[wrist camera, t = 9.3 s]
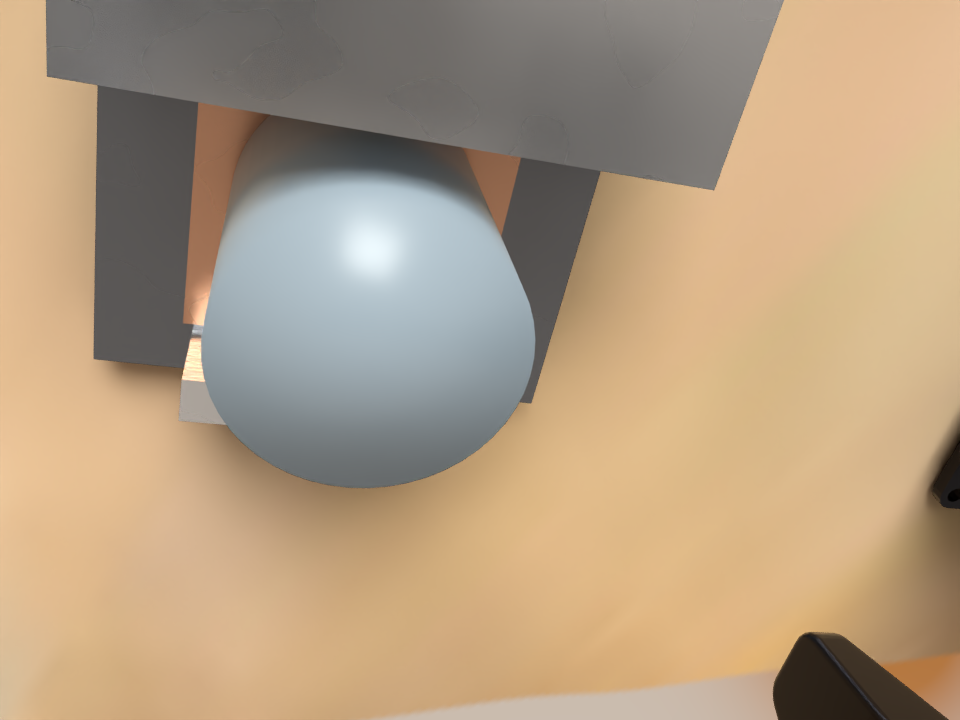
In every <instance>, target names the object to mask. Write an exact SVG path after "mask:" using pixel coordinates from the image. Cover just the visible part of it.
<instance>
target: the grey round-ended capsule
mask: <svg viewBox="0 0 960 720" xmlns="http://www.w3.org/2000/svg"><path fill="white" fill-rule="evenodd" d="M534 353H535V329H534V320H533V316H532V312H531V308H530V304H529V301H528V299H527V296H526V294H525V291H524V289H523V286H522V284H521V282H520V279H519V277H518V275H517V272H516V270H515V268H514V265H513V263H512V261H511V258H510V256H509V254H508V251H507V249H506V247H505V244H504V242H503V240H502V238H501V235H500V233H499V231H498V228H497V226H496V224H495V221H494V219H493V217H492V214H491V212H490V210H489V207H488V205H487V203H486V200H485V198H484V196H483V193H482V191H481V189H480V186H479V184H478V182H477V179H476V177H475V175H474V172H473V170H472V168H471V165H470V163H469V161H468V158H467V156H466V154H465V152H464V150H463V148H462V147H457V146H451V145H446V144H440V143H434V142H428V141H422V140H416V139H410V138H405V137H399V136H393V135H387V134H381V133H375V132H369V131H364V130H358V129H352V128H346V127H340V126H334V125H328V124H323V123H317V122H311V121H305V120H299V119H293V118H287V117H282V116H276V115H270V116H269V117H267V118H266V119H265V120H264V121H263V123H262V124H261V125H260V126H259V127H258V128H257V129H256V130H255V131H254V133H253V134H252V136H251V137H250V139H249V140H248V142H247V143H246V145H245V147H244V149H243V151H242V153H241V155H240V157H239V159H238V162H237V166H236V169H235V172H234V176H233V181H232V186H231V191H230V196H229V200H228V205H227V210H226V215H225V220H224V225H223V230H222V235H221V240H220V245H219V250H218V255H217V260H216V265H215V270H214V275H213V279H212V284H211V289H210V294H209V299H208V304H207V309H206V314H205V319H204V325H203V331H202V337H201V363H202V369H203V375H204V380H205V383H206V386H207V389H208V392H209V395H210V398H211V400H212V402H213V404H214V406H215V408H216V410H217V412H218V414H219V415H220V416H221V418H222V419H223V421H224V422H225V424H226V425H227V426H228V428H229V429H230V430H231V431H232V432H233V434H234V435H235V436H236V437H237V438H238V439H239V440H240V441H241V442H242V443H243V444H244V445H245V446H247V447H248V448H249V449H250V450H251V451H253V452H254V453H255V454H256V455H258V456H259V457H261V458H262V459H264V460H265V461H267V462H268V463H270V464H272V465H273V466H275V467H277V468H279V469H281V470H283V471H286V472H288V473H290V474H292V475H295V476H298V477H301V478H303V479H306V480H309V481H313V482H317V483H322V484H326V485H332V486H340V487H347V488H375V487H388V486H394V485H399V484H405V483H409V482H413V481H416V480H420V479H423V478H426V477H429V476H431V475H434V474H436V473H439V472H441V471H444V470H446V469H448V468H450V467H452V466H453V465H455V464H457V463H459V462H461V461H463V460H464V459H466V458H467V457H468V456H470V455H471V454H473V453H474V452H476V451H477V450H479V449H480V448H481V447H482V446H483V445H484V444H485V443H487V442H488V441H489V440H490V439H491V438H492V437H493V436H494V435H495V434H496V433H497V432H498V431H499V430H500V429H501V428H502V426H503V425H504V424H505V423H506V422H507V420H508V419H509V417H510V416H511V415H512V413H513V412H514V410H515V409H516V407H517V405H518V403H519V401H520V399H521V398H522V396H523V394H524V392H525V389H526V386H527V383H528V381H529V378H530V375H531V370H532V366H533V361H534Z"/></svg>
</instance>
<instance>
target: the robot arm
mask: <svg viewBox="0 0 960 720" xmlns="http://www.w3.org/2000/svg"><path fill="white" fill-rule="evenodd" d="M932 493H933V496H934V497H935V498H936V499H937V500H938V501H939V502H940V504H941V505H942V506H943V507H947V508H955V509H960V442H959V444H958V446H957V447H956V449H955V451H954V453H953V454H952V456H951V458H950V459H949V461H948V463H947V464H946V466H945V468H944V469H943V471H942V473H941V475H940V476H939V478H938V480H937V481H936V483H935V485H934V487H933V490H932ZM773 701H774V706H775V710H776V713H777V717H778V720H948V719H947V718H945V716H943V715H942V714H941V713H940V712H938V711H937V710H936V709H934V708H933V707H932V706H930V705H929V704H928V703H927V702H926V701H924V700H923V699H922V698H921V697H919V696H918V695H917V694H916V693H914V692H913V691H912V690H910V689H909V688H908V687H907V686H905V685H904V684H903V683H902V682H900V681H899V680H898V679H897V678H895V677H894V676H893V675H892V674H890V673H889V672H888V671H886V670H885V669H884V668H883V667H881V666H880V665H879V664H878V663H876V662H875V661H874V660H873V659H871V658H870V657H869V656H868V655H866V654H865V653H864V652H863V651H861V650H860V649H859V648H858V647H856V646H855V645H854V644H852V643H851V642H850V641H849V640H847V639H846V638H845V637H843V636H841V635H839V634H835V633H819V632H808V633H804V634H803V635H801V636H800V637H799V638H798V640H797V641H796V643H795V644H794V646H793V648H792V650H791V652H790V654H789V655H788V657H787V659H786V661H785V663H784V664H783V666H782V668H781V670H780V672H779V673H778V675H777V677H776V679H775V682H774V687H773Z"/></svg>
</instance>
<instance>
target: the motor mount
mask: <svg viewBox="0 0 960 720" xmlns="http://www.w3.org/2000/svg"><path fill="white" fill-rule="evenodd" d="M783 1H784V0H46V43H47V77H53V78H59V79H65V80H71V81H77V82H82V83H88V84H94V85H98V101H97V167H96V233H95V300H94V359H98V360H108V361H117V362H127V363H137V364H147V365H157V366H167V367H177V368H184V371H183V376H182V382H181V396H180V410H179V421H188V422H199V423H210V424H222V425H226V424H225V422H224V421H223V419H222V418H221V416H220V415H219V414H218V412H217V410H216V408H215V406H214V404H213V402H212V400H211V398H210V395H209V392H208V389H207V386H206V383H205V380H204V375H203V369H202V363H201V337H202V331H203V325H204V319H205V314H206V309H207V304H208V299H209V294H210V289H211V284H212V279H213V275H214V270H215V265H216V260H217V255H218V250H219V245H220V240H221V235H222V230H223V225H224V220H225V215H226V210H227V205H228V200H229V196H230V191H231V186H232V181H233V176H234V172H235V169H236V166H237V162H238V159H239V157H240V155H241V153H242V151H243V149H244V147H245V145H246V143H247V142H248V140H249V139H250V137H251V136H252V134H253V133H254V131H255V130H256V129H257V128H258V127H259V126H260V125H261V124H262V123H263V121H264V120H265V119H266V118H267V117H269V116H270V115H276V116H282V117H287V118H293V119H299V120H305V121H311V122H317V123H323V124H328V125H334V126H340V127H346V128H352V129H358V130H364V131H369V132H375V133H381V134H387V135H393V136H399V137H405V138H410V139H416V140H422V141H428V142H434V143H440V144H446V145H451V146H457V147H462V148H463V150H464V152H465V154H466V156H467V158H468V161H469V163H470V165H471V168H472V170H473V172H474V175H475V177H476V179H477V182H478V184H479V186H480V189H481V191H482V193H483V196H484V198H485V200H486V203H487V205H488V207H489V210H490V212H491V214H492V217H493V219H494V221H495V224H496V226H497V228H498V231H499V233H500V235H501V238H502V240H503V242H504V244H505V247H506V249H507V251H508V254H509V256H510V258H511V261H512V263H513V265H514V268H515V270H516V272H517V275H518V277H519V279H520V282H521V284H522V286H523V289H524V291H525V294H526V296H527V299H528V301H529V304H530V308H531V312H532V316H533V320H534V329H535V353H534V361H533V366H532V370H531V375H530V378H529V381H528V383H527V386H526V389H525V392H524V394H523V396H522V398H521V399H520V401H519V402H523V403H531V402H532V399H533V396H534V392H535V389H536V386H537V382H538V379H539V376H540V372H541V369H542V366H543V362H544V359H545V356H546V352H547V349H548V346H549V342H550V339H551V335H552V332H553V329H554V325H555V322H556V319H557V315H558V312H559V309H560V305H561V302H562V299H563V295H564V292H565V289H566V285H567V282H568V279H569V275H570V272H571V269H572V265H573V262H574V259H575V255H576V252H577V248H578V245H579V242H580V238H581V235H582V232H583V228H584V225H585V222H586V218H587V215H588V212H589V208H590V205H591V202H592V198H593V195H594V192H595V188H596V185H597V182H598V178H599V175H600V172H601V171H604V172H610V173H615V174H621V175H627V176H633V177H639V178H645V179H651V180H656V181H662V182H668V183H674V184H680V185H686V186H692V187H697V188H703V189H709V190H714V189H715V187H716V184H717V181H718V178H719V176H720V173H721V170H722V167H723V165H724V162H725V159H726V157H727V154H728V151H729V148H730V146H731V143H732V140H733V137H734V135H735V132H736V129H737V127H738V124H739V121H740V118H741V116H742V113H743V110H744V107H745V105H746V102H747V99H748V97H749V94H750V91H751V88H752V86H753V83H754V80H755V77H756V75H757V72H758V69H759V67H760V64H761V61H762V58H763V56H764V53H765V50H766V47H767V45H768V42H769V39H770V37H771V34H772V31H773V28H774V26H775V23H776V20H777V17H778V15H779V12H780V9H781V7H782V4H783Z"/></svg>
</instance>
